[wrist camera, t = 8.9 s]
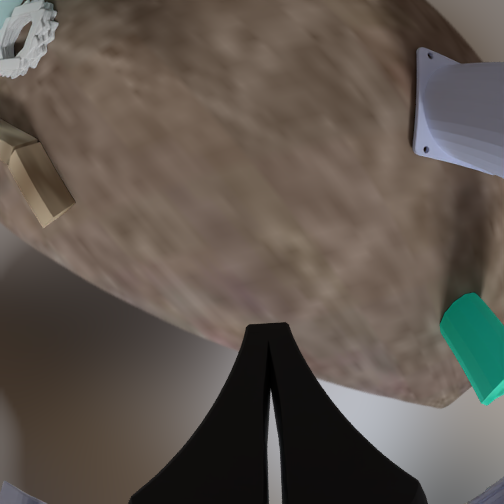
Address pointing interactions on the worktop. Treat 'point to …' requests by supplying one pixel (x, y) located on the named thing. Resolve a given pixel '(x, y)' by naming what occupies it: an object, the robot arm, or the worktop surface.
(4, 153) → the pocket
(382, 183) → the worktop surface
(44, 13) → the l-shaped corner panel
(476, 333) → the candle
